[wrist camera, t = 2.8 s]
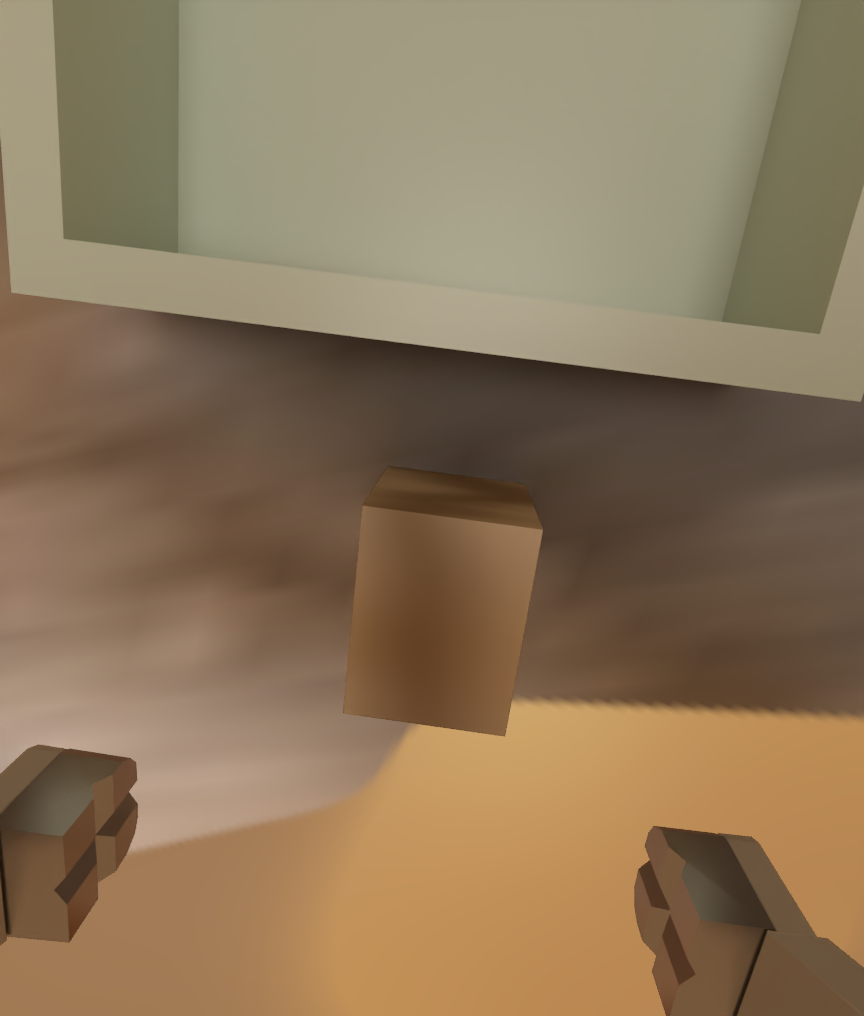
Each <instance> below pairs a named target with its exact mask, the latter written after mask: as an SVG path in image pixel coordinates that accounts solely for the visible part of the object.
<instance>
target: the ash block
mask: <svg viewBox="0 0 864 1016" xmlns="http://www.w3.org/2000/svg"><path fill="white" fill-rule="evenodd" d="M542 533H543V529H542V526H541V524H540V521H539V519H538V516H537V514H536V511H535V509H534V506H533V504H532V501H531V499H530V496H529V494H528V492H527V489H526V487H525V484H520V483H512V482H505V481H497V480H490V479H482V478H475V477H467V476H460V475H452V474H445V473H437V472H430V471H422V470H415V469H407V468H400V467H392V466H388V467H387V469H386V470H385V472H384V473H383V475H382V476H381V478H380V479H379V481H378V482H377V484H376V486H375V487H374V489H373V490H372V492H371V493H370V495H369V496H368V498H367V499H366V501H365V502H364V504H363V506H362V516H361V527H360V537H359V548H358V559H357V569H356V580H355V591H354V601H353V612H352V623H351V633H350V644H349V655H348V665H347V676H346V687H345V697H344V708H343V713H345V714H352V715H359V716H366V717H373V718H380V719H387V720H394V721H401V722H408V723H415V724H422V725H429V726H436V727H443V728H450V729H457V730H464V731H471V732H478V733H485V734H493V735H499V736H505V734H506V728H507V723H508V717H509V712H510V707H511V701H512V696H513V690H514V685H515V680H516V674H517V669H518V663H519V658H520V652H521V647H522V642H523V636H524V631H525V625H526V620H527V615H528V609H529V604H530V598H531V593H532V587H533V582H534V577H535V571H536V566H537V560H538V555H539V549H540V544H541V539H542Z"/></svg>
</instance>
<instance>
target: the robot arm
mask: <svg viewBox="0 0 864 1016" xmlns="http://www.w3.org/2000/svg"><path fill="white" fill-rule="evenodd" d="M136 781H137V769H136V762H135V761H134V760H132V759H131V758H126V757H120V756H113V755H107V754H101V753H94V752H88V751H81V750H75V749H64V748H57V747H51V746H45V745H36V746H33V747H30V748H28V749H27V750H25V751H24V752H23V753H22V754H21V755H20V756H19V757H18V758H17V759H16V760H15V761H14V762H13V763H11V764H10V765H9V766H8V767H7V768H6V769H5V770H4V771H3V772H2V773H1V774H0V945H1V944H3V943H4V942H5V941H6V940H7V936H8V937H17V938H28V939H38V940H49V941H58V942H68V943H69V942H70V941H71V939H72V938H73V936H74V935H75V933H76V932H77V930H78V929H79V927H80V925H81V924H82V922H83V921H84V919H85V918H86V916H87V915H88V913H89V912H90V910H91V909H92V907H93V906H94V904H95V903H96V901H97V900H98V882H99V881H101V880H103V879H104V878H106V877H108V876H109V875H111V874H112V873H114V872H115V871H116V870H117V868H118V867H119V865H120V864H121V862H122V861H123V859H124V857H125V856H126V854H127V852H128V849H129V847H130V844H131V842H132V839H133V836H134V834H135V829H136V824H137V818H138V804H137V802H136V801H135V800H134V798H133V797H132V796H131V794H130V793H129V791H130V789H131V788H132V787H133V785H134V784H135V782H136ZM645 848H646V850H647V853H648V856H649V859H650V860H649V861H648V862H647V863H646V864H644V865H643V866H642V867H641V868H639V870H638V874H637V879H636V883H635V901H634V902H635V904H634V905H635V906H634V907H635V913H636V919H637V924H638V927H639V931H640V934H641V937H642V940H643V942H644V943H645V944H646V945H647V946H648V947H649V948H650V949H651V950H652V951H653V952H654V954H655V955H656V959H655V962H654V966H653V969H652V973H653V976H654V979H655V982H656V985H657V989H658V992H659V995H660V998H661V1001H662V1004H663V1007H664V1010H665V1013H666V1016H864V968H863V967H862V966H861V965H859V964H858V963H857V962H856V961H855V960H854V959H852V958H851V957H850V956H849V955H847V954H846V953H845V952H844V951H842V950H841V949H840V948H839V947H837V946H836V945H835V944H834V943H833V942H831V941H830V940H829V939H827V938H819V937H817V936H816V935H815V933H814V931H813V930H812V928H811V927H810V925H809V924H808V922H807V920H806V918H805V917H804V915H803V914H802V912H801V910H800V909H799V907H798V906H797V904H796V902H795V901H794V899H793V897H792V896H791V894H790V893H789V891H788V889H787V888H786V886H785V885H784V883H783V881H782V880H781V878H780V876H779V875H778V873H777V871H776V870H775V868H774V867H773V865H772V863H771V862H770V860H769V859H768V857H767V855H766V854H765V852H764V850H763V849H762V847H761V846H760V844H759V843H758V842H757V841H756V840H755V839H753V838H752V837H747V836H739V835H730V834H721V833H719V834H715V833H708V832H699V831H691V830H683V829H674V828H666V827H658V826H653V828H652V829H651V830H650V832H649V833H648V837H647V840H646V844H645Z"/></svg>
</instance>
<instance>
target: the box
mask: <svg viewBox="0 0 864 1016" xmlns="http://www.w3.org/2000/svg"><path fill="white" fill-rule="evenodd" d="M0 137H1V151H2V165H3V179H4V194H5V208H6V222H7V236H8V250H9V264H10V278H11V293H19V294H27V295H34V296H42V297H50V298H58V299H65V300H73V301H81V302H89V303H97V304H104V305H112V306H120V307H128V308H135V309H143V310H151V311H159V312H167V313H174V314H182V315H190V316H198V317H205V318H213V319H221V320H229V321H237V322H244V323H252V324H260V325H268V326H275V327H283V328H291V329H299V330H306V331H314V332H322V333H330V334H338V335H345V336H353V337H361V338H369V339H376V340H384V341H392V342H400V343H408V344H415V345H423V346H431V347H439V348H446V349H454V350H462V351H470V352H478V353H485V354H493V355H501V356H509V357H516V358H524V359H532V360H540V361H548V362H555V363H563V364H571V365H579V366H586V367H594V368H602V369H610V370H618V371H625V372H633V373H641V374H649V375H656V376H664V377H672V378H680V379H688V380H695V381H703V382H711V383H719V384H726V385H734V386H742V387H750V388H757V389H765V390H773V391H781V392H789V393H796V394H804V395H812V396H820V397H827V398H835V399H843V400H851V401H859V402H861V399H862V396H863V393H864V0H0Z"/></svg>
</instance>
